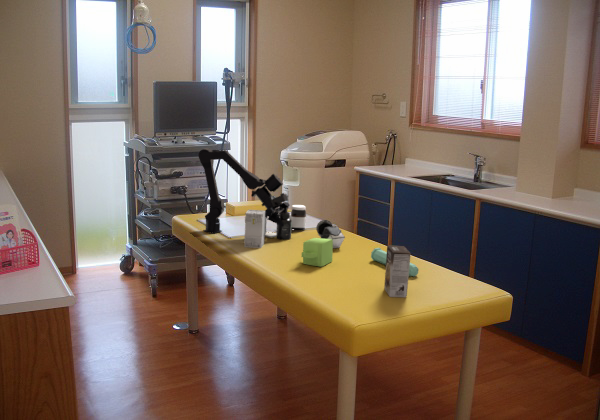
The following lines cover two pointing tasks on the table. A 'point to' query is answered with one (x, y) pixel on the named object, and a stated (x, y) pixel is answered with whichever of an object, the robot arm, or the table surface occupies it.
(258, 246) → the circuit breaker
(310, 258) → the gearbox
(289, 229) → the supplement bottle
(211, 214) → the robot arm
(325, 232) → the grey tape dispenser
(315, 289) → the table surface
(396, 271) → the coffee box
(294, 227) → the white and brown mug
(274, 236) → the grey mat
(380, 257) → the container
